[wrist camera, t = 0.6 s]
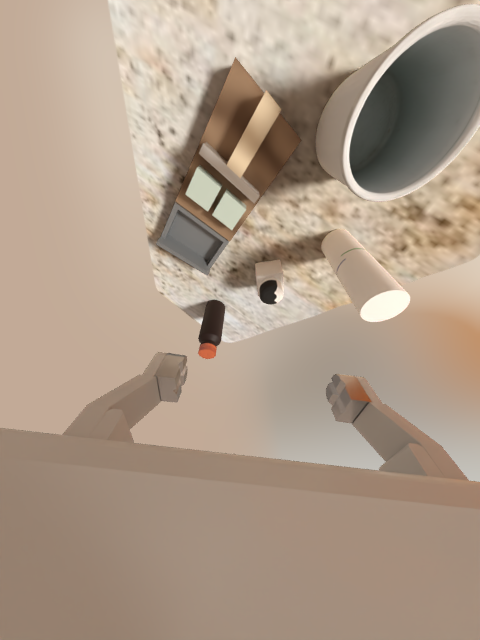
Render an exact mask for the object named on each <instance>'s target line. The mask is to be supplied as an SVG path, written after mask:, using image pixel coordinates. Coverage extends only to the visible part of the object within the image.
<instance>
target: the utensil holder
mask: <svg viewBox="0 0 480 640" xmlns="http://www.w3.org/2000/svg"><path fill="white" fill-rule="evenodd" d="M479 126H480V5H479V4H464V5H459V6H455V7H452V8H449V9H447V10H445V11H442V12H440V13H438V14H436V15H434V16H432V17H430V18H428V19H427V20H425V21H424V22H422V23H421V24H419V25H418V26H416V27H415V28H414V29H412V30H411V31H410V32H409V33H407V34H406V35H405V36H404V37H403V38H402V39H400V40H399V41H398V42H397V43H396V44H395V45H394V46H392V47H391V48H389V49H388V50H386V51H385V52H383V53H382V54H380V55H379V56H377V57H375V58H374V59H372V60H371V61H369V62H368V63H367V64H365V65H364V66H362V67H361V68H360V69H358V70H357V71H355V72H354V73H353V74H351V75H350V76H349V77H348V78H346V79H345V80H344V81H343V82H342V83H341V84H340V85H339V87H338V88H337V89H336V90H335V91H334V93H333V94H332V96H331V97H330V99H329V100H328V102H327V104H326V106H325V108H324V110H323V112H322V114H321V117H320V120H319V123H318V127H317V132H316V143H315V145H316V153H317V158H318V161H319V163H320V165H321V166H322V168H323V169H324V170H325V171H326V172H327V173H328V174H330V175H331V176H332V177H334V178H335V179H337V180H338V181H340V182H341V183H343V184H344V185H346V186H347V187H348V188H349V189H350V190H351V191H352V192H353V193H354V194H355V195H357V196H358V197H360V198H362V199H365V200H368V201H374V202H383V201H390V200H394V199H397V198H400V197H402V196H405V195H407V194H409V193H411V192H413V191H415V190H417V189H418V188H420V187H421V186H423V185H425V184H426V183H427V182H429V181H430V180H431V179H433V178H434V177H435V176H437V175H438V174H439V173H440V172H441V171H442V170H444V169H445V168H446V167H447V166H448V165H449V164H450V163H451V162H452V161H453V160H454V159H455V158H456V157H457V155H458V154H459V153H460V152H461V151H462V150H463V148H464V147H465V146H466V145H467V143H468V142H469V141H470V139H471V138H472V137H473V135H474V134H475V132H476V131H477V129H478V128H479Z"/></svg>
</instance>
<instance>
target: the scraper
mask: <svg viewBox="0 0 480 640" xmlns="http://www.w3.org/2000/svg"><path fill="white" fill-rule="evenodd" d="M281 110H282V109H281V108H280V107H279V106H278V104H277V103H276V102H275V101H274V99H273V98H272V97H271V95H270V94H269V93H268V92H267V90H266V91H265V93H264V95H263V97H262V99H261V101H260V103H259V105H258V107H257V108H256V110H255V112H254V114H253V116H252V118H251V120H250V122H249V124H248V125H247V127H246V129H245V131H244V133H243V135H242V137H241V139H240V141H239V142H238V144H237V146H236V148H235V150H234V152H233V154H232V156H231V158H230V159H229V161H228V162H227V161H226V160H225V159H224V158H223V157H222V156H221V155H220V154H219V153H218V152H217V151H216V150H215V149H214V148H213V147H212V146H211V145H209V144H208V143H207V142H206V143H203V145H202V147H201V149H200V152H199V154H200V155H201V156H202V157H203V158H204V159H205V160H206V161H208V162H209V163H210V164H211V165H212V166H213V167H214V168H215V169H216V170H218V171H219V172H220V173H221V174H222V175H223V176H224V177H225V178H226V179H228V180H229V181H230V182H231V183H232V184H233V185H234V186H235V187H236V188H238V189H239V190H240V191H241V192H242V193H243V194H244V195H245V196H246V197H248V198H249V199H250V200H251V201H252V202H253V203H254V204H255V202H256V201H257V200H258V198H259V197H260V195H259V191H258V190H257V189H256V188H255V187H254V186H253V185H252V184H251V183H250V182H248V181H247V180H246V179H245V178H244V177H243V176H242V175H243V173H244V172H245V170H246V168H247V167H248V165H249V163H250V162H251V160H252V158H253V157H254V155H255V153H256V152H257V150H258V148H259V147H260V145H261V143H262V142H263V140H264V138H265V137H266V135H267V133H268V132H269V130H270V128H271V127H272V125H273V123H274V122H275V120H276V118H277V117H278V115H279V113H280V112H281Z"/></svg>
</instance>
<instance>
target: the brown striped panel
mask: <svg viewBox="0 0 480 640" xmlns="http://www.w3.org/2000/svg"><path fill="white" fill-rule="evenodd" d="M263 95H264V92H263V91H262V90H261V89H260V87H259V86H258V85H257V84H256V82H255V81H254V80H253V79H252V77H251V76H250V75H249V74H248V72H247V71H246V70H245V69H244V67H243V66H242V65H241V64H240V62H239V61H238V60H237V59H236V57H235V60H234V62H233V64H232V67H231V69H230V72H229V74H228V76H227V79H226V81H225V84H224V86H223V88H222V91H221V93H220V95H219V98H218V100H217V103H216V105H215V107H214V110H213V112H212V115H211V117H210V119H209V122H208V124H207V127H206V129H205V131H204V134H203V136H202V139H201V141H200V143H199V146H198V148H197V151H196V153H195V155H194V158H193V160H192V162H191V165H190V167H189V170H188V172H187V174H186V177H185V179H184V182H183V184H182V186H181V189H180V191H179V194H178V196H177V198H176V201H175V202H177V203H178V204H180V205H181V206H182V207H184V208H185V209H186V210H188V211H189V212H190V213H192V214H193V215H194V216H196V217H197V218H198V219H200V220H201V221H203V222H204V223H205V224H207V225H208V226H209V227H211V228H212V229H213V230H215V231H216V232H217V233H219V234H220V235H222V236H223V237H224V238H226V239H227V240H228V241H230V240H231V239H232V238H233V236H234V235H235V233H236V232H237V230H238V229H239V228H240V226H241V225H242V223H243V222H244V221H245V219H246V218H247V216H248V215H249V214H250V212H251V211H252V209H253V208H254V206H255V205H256V204H257V202H258V201H259V199H260V198H261V197H262V195H263V194H264V192H265V191H266V190H267V188H268V187H269V185H270V184H271V182H272V181H273V180H274V178H275V177H276V175H277V174H278V173H279V171H280V170H281V168H282V167H283V166H284V164H285V163H286V161H287V160H288V158H289V157H290V156H291V154H292V153H293V151H294V150H295V149H296V147H297V146H298V144H299V143H300V142H301V139H300V138H299V136H298V135H297V134H296V133H295V131H294V130H293V129H292V128H291V126H290V125H289V124H288V123H287V121H286V120H285V119H284V118H283V116H282V115H281V114H280V113H279V115H278V117H277V118H276V120H275V122H274V123H273V125H272V127H271V128H270V130H269V132H268V133H267V135H266V137H265V138H264V140H263V142H262V143H261V145H260V147H259V148H258V150H257V152H256V153H255V155H254V157H253V158H252V160H251V162H250V163H249V165H248V167H247V168H246V170H245V172H244V173H243V175H242V176H243V177H244V178H245V179H246V180H247V181H248V182H250V183H251V184H252V185H253V186H254V187H255V188H256V189H257V190H258V191H259V195H260V197H259V198H258V200H257V201H256V202H255V204H254V203H253V202H252V201H251V200H250V199H249V198H248V197H246V196H245V195H244V194H243V193H242V192H241V191H240V190H239V189H238V188H236V187H235V186H234V185H233V184H232V183H231V182H230V181H229V180H228V179H226V178H225V177H224V176H223V175H222V174H221V173H220V172H219V171H218V170H216V169H215V168H214V167H213V166H212V165H211V164H210V163H209V162H208V161H206V160H205V159H204V158H203V157H202V156H201V155H200V154H199V152H200V149H201V147H202V145H203V143H206V142H207V143H208V144H209V145H211V146H212V147H213V148H214V149H215V150H216V151H217V152H218V153H219V154H220V155H221V156H222V157H223V158H224V159H225V160H226V161H227V162H228V161H229V159H230V158H231V156H232V154H233V152H234V150H235V148H236V146H237V144H238V142H239V141H240V139H241V137H242V135H243V133H244V131H245V129H246V127H247V125H248V124H249V122H250V120H251V118H252V116H253V114H254V112H255V110H256V108H257V107H258V105H259V103H260V101H261V99H262V97H263ZM200 165H201V166H202V167H203V168H204V169H205V170H206V171H208V172H209V173H210V174H211V175H212V176H213V177H214V178H216V179H217V180H218V181H219V182H220V183H221V184H222V187H221V189H220V191H219V193H218V194H217V196H216V198H215V200H214V202H213V203H212V205H211V207H210V209H209V211H206V210H205V209H204V208H202V207H201V206H200V205H198V204H197V203H196V202H195V201H193V200H192V199H191V198H189V197H188V196H187V195H186V191H187V189H188V187H189V185H190V182H191V180H192V178H193V176H194V173H195V171H196V169H197V167H198V166H200ZM226 189H228V190H229V191H230V192H232V193H233V194H234V195H235V196H236V197H237V198H238V199H240V200H241V201H242V202H243V203H244V204H245V205H246V211H245V212H244V214H243V215H242V217H241V218H240V219H239V221H238V222H237V224H236V225H235V227H234V228H233V230H231V229H230V228H228V227H227V226H226V225H224V224H223V223H222V222H220V221H219V220H218V219H217V218H215V217H214V216H213V215H212V214H213V212H214V210H215V208H216V206H217V205H218V203H219V201H220V199H221V198H222V196H223V194H224V192H225V191H226Z"/></svg>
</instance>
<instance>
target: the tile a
mask: <svg viewBox="0 0 480 640" xmlns="http://www.w3.org/2000/svg"><path fill="white" fill-rule="evenodd" d="M221 187H222V184H221V183H220V182H219V181H218V180H217V179H216V178H214V177H213V176H212V175H211V174H210V173H209V172H208V171H206V170H205V169H204V168H203V167H202V166H201V165H200V166H198V167H197V169H196V171H195V173H194V176H193V178H192V180H191V182H190V185H189V187H188V189H187V191H186V195H187V196H188V197H189V198H191V199H192V200H193V201H195V202H196V203H197V204H198V205H200V206H201V207H202V208H204V209H205V210H206V211H209V209H210V207H211V205H212V203H213V202H214V200H215V198H216V196H217V194H218V193H219V191H220V189H221Z"/></svg>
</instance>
